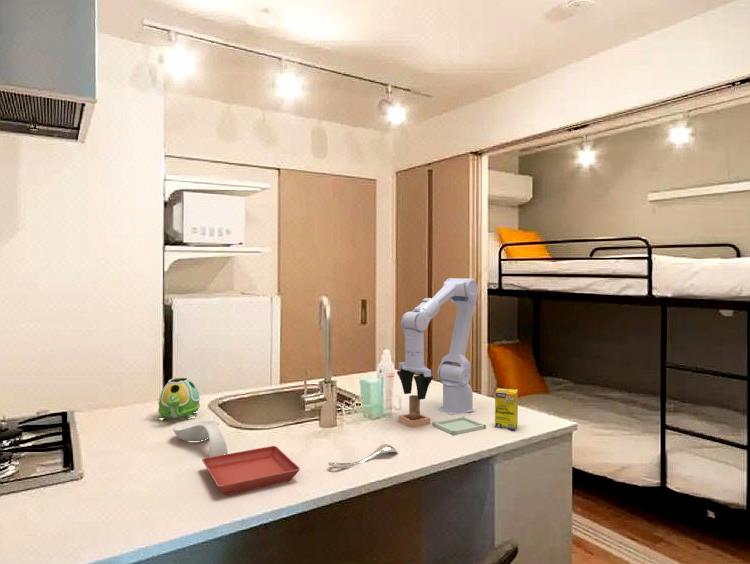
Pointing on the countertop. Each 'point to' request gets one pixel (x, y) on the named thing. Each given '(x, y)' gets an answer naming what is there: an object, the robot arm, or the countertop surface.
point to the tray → (458, 425)
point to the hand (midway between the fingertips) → (414, 396)
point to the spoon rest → (203, 435)
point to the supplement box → (506, 409)
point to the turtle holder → (178, 399)
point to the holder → (414, 423)
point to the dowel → (414, 407)
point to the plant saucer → (250, 469)
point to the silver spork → (380, 449)
